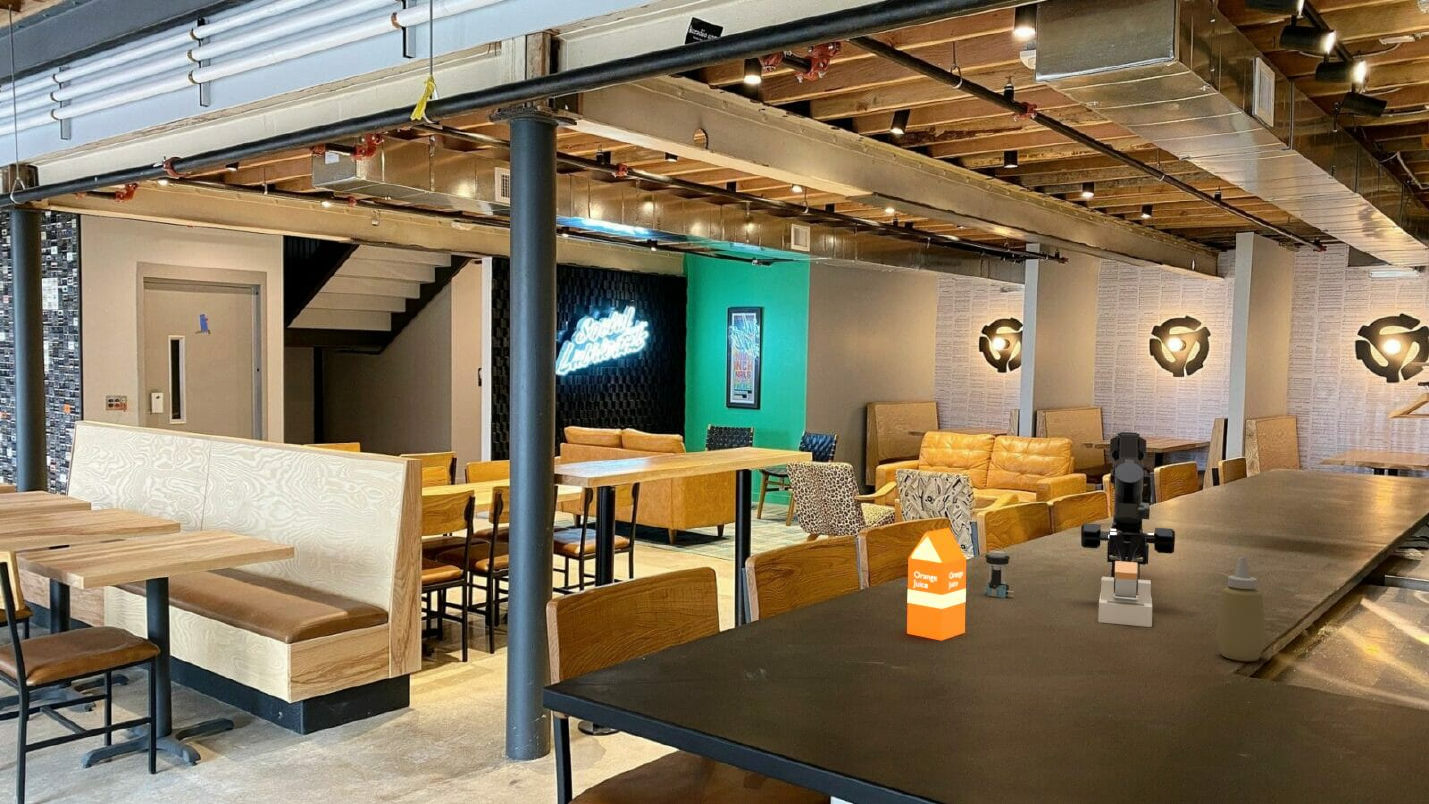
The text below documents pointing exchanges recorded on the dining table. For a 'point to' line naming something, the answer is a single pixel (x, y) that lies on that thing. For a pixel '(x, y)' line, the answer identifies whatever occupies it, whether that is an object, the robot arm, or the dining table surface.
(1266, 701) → the dining table surface
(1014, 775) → the dining table surface
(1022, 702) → the dining table surface
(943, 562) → the orange juice
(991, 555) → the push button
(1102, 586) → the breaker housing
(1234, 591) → the squeeze bottle
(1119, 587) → the lever
